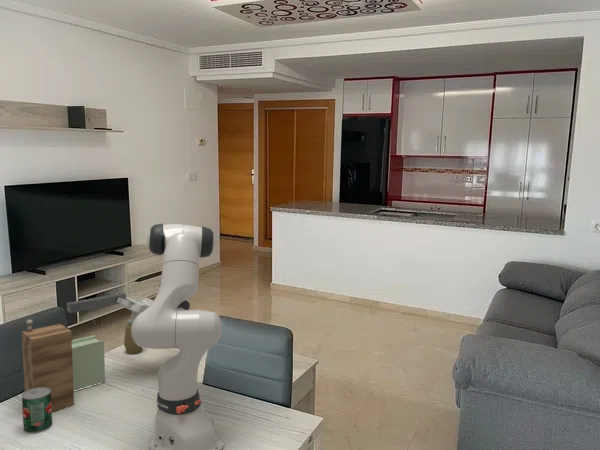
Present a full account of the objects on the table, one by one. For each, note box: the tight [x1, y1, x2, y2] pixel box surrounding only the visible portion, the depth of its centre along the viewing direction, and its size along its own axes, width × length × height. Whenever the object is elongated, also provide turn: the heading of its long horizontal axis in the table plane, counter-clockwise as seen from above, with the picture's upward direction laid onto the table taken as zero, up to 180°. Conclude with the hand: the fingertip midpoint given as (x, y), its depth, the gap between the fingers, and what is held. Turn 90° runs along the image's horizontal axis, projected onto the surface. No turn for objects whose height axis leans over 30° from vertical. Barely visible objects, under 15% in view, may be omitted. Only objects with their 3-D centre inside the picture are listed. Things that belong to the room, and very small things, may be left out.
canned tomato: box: [21, 387, 53, 434], centre depth 148 cm, size 8×8×11 cm
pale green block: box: [72, 334, 106, 391], centre depth 176 cm, size 8×15×16 cm, turn 136°
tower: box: [21, 319, 75, 413], centre depth 160 cm, size 10×12×30 cm
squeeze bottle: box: [123, 311, 143, 355], centre depth 209 cm, size 8×8×18 cm
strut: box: [66, 292, 127, 314], centre depth 173 cm, size 3×20×3 cm, turn 135°
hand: (114, 298), depth 177 cm, fingers closed on strut, 3 cm apart
